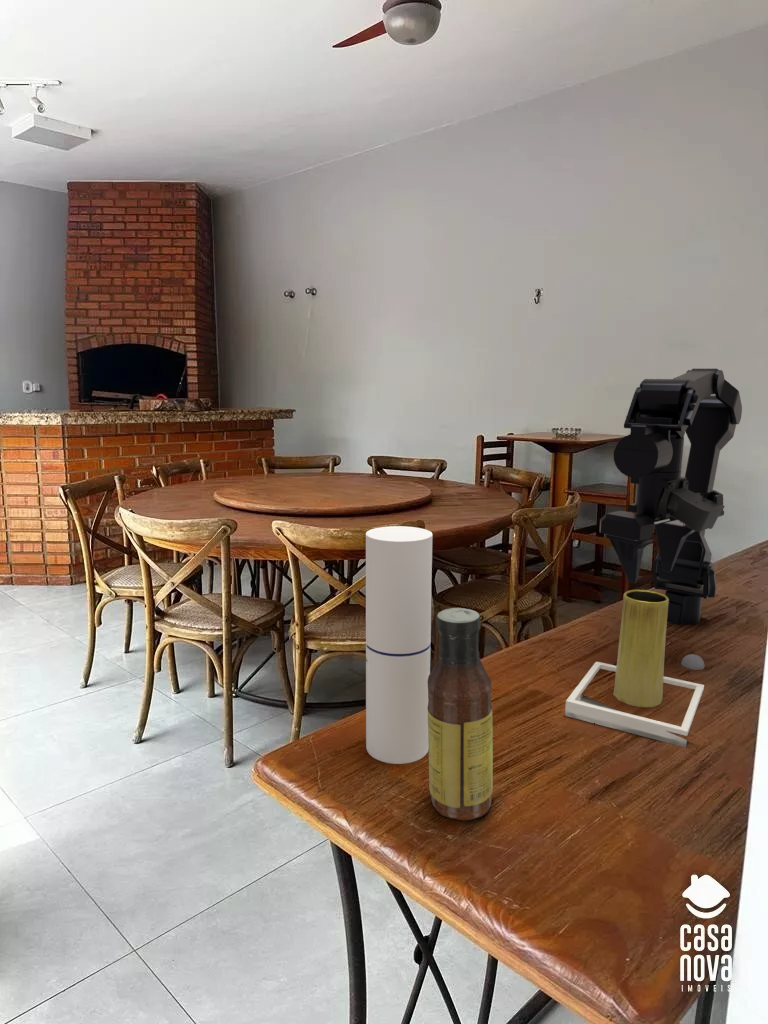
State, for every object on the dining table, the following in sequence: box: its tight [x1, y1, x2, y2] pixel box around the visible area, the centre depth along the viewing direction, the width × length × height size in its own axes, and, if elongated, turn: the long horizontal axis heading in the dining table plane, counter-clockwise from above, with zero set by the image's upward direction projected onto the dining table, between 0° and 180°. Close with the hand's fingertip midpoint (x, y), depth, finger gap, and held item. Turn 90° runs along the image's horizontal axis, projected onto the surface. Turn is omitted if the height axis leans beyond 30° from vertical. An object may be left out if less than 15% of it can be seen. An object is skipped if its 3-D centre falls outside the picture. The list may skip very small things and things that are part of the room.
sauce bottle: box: [428, 607, 494, 821], centre depth 66 cm, size 7×6×20 cm
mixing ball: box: [680, 653, 705, 671], centre depth 97 cm, size 3×3×3 cm
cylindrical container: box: [365, 525, 434, 765], centre depth 76 cm, size 7×7×25 cm
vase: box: [612, 589, 669, 708], centre depth 86 cm, size 6×6×14 cm
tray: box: [564, 661, 705, 748], centre depth 87 cm, size 14×14×2 cm
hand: (650, 576), depth 99 cm, fingers open, 9 cm apart
